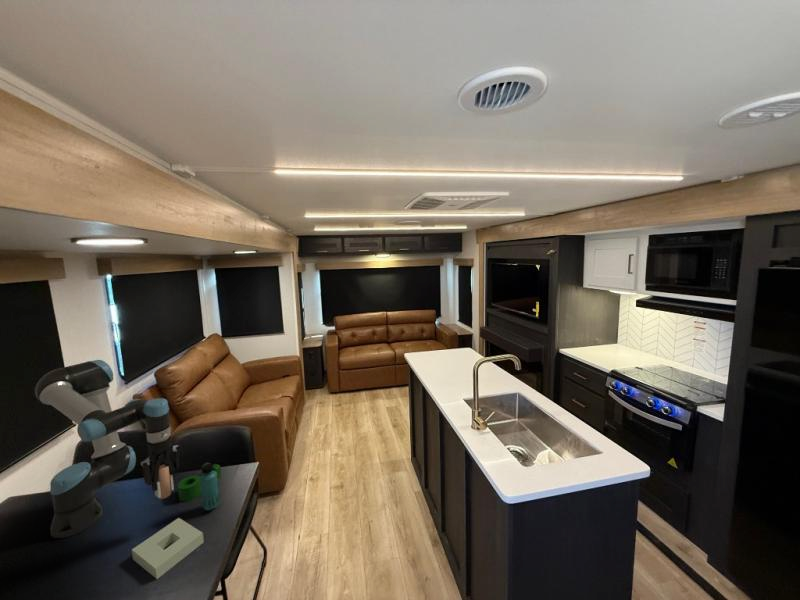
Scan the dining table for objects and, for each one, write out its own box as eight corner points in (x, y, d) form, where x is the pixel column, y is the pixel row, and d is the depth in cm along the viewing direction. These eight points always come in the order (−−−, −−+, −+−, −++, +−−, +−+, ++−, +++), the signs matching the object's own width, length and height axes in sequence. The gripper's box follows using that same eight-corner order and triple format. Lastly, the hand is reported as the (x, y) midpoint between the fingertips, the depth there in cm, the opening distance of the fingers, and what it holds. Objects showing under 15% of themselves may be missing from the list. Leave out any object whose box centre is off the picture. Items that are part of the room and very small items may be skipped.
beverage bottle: (207, 516, 135) (203, 472, 133) (199, 509, 139) (195, 467, 136) (223, 506, 141) (219, 464, 138) (214, 500, 144) (211, 459, 142)
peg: (156, 496, 127) (153, 469, 126) (167, 490, 131) (165, 463, 129) (162, 500, 126) (159, 472, 124) (173, 493, 129) (170, 466, 128)
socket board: (133, 559, 116) (131, 549, 115) (179, 526, 130) (178, 517, 129) (157, 579, 109) (155, 568, 108) (203, 542, 123) (202, 532, 122)
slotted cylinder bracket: (190, 503, 143) (189, 490, 142) (173, 499, 145) (172, 486, 144) (221, 476, 160) (220, 464, 159) (206, 473, 162) (205, 462, 161)
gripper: (138, 452, 116) (145, 510, 119) (187, 430, 131) (192, 482, 134) (128, 447, 119) (134, 503, 122) (177, 426, 134) (181, 476, 137)
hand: (164, 492), depth 128 cm, fingers closed on peg, 4 cm apart
